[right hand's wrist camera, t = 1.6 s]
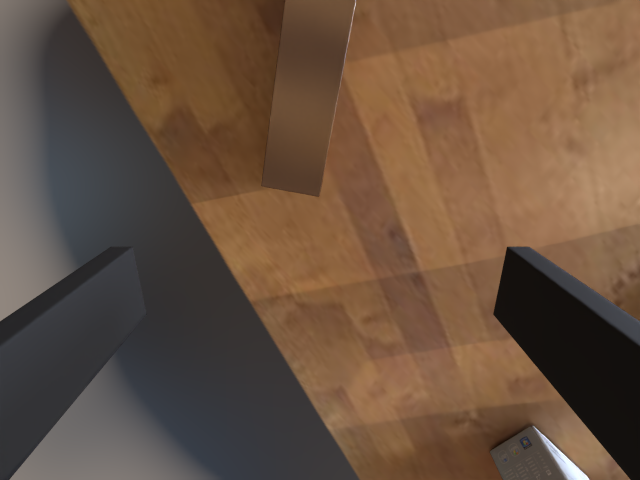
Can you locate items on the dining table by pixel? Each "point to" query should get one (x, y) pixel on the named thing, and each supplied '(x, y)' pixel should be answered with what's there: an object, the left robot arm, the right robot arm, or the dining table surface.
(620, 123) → the dining table surface
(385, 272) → the dining table surface
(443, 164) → the dining table surface
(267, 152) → the bar
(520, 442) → the hard drive box
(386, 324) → the dining table surface
